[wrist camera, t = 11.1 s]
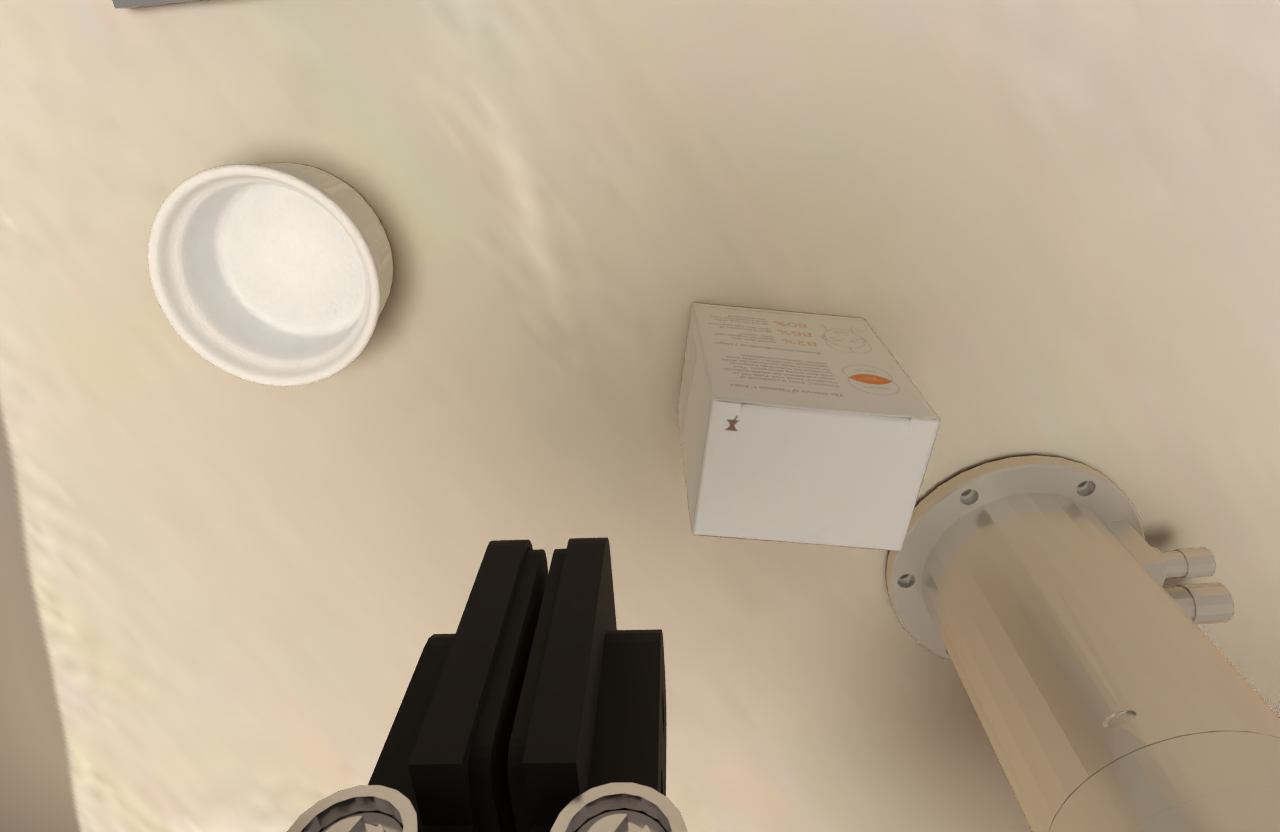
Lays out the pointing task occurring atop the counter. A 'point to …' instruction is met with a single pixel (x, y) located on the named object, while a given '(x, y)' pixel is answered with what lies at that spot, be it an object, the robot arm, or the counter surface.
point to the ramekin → (270, 270)
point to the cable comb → (146, 3)
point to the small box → (799, 430)
